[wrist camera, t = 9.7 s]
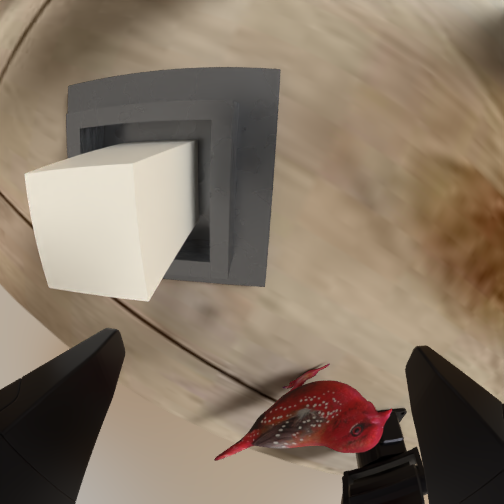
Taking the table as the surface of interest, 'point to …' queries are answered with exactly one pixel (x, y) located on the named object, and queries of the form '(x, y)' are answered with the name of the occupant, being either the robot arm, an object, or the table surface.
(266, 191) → the square socket
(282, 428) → the decorative bird figurine
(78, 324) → the table surface
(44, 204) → the square peg
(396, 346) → the table surface
